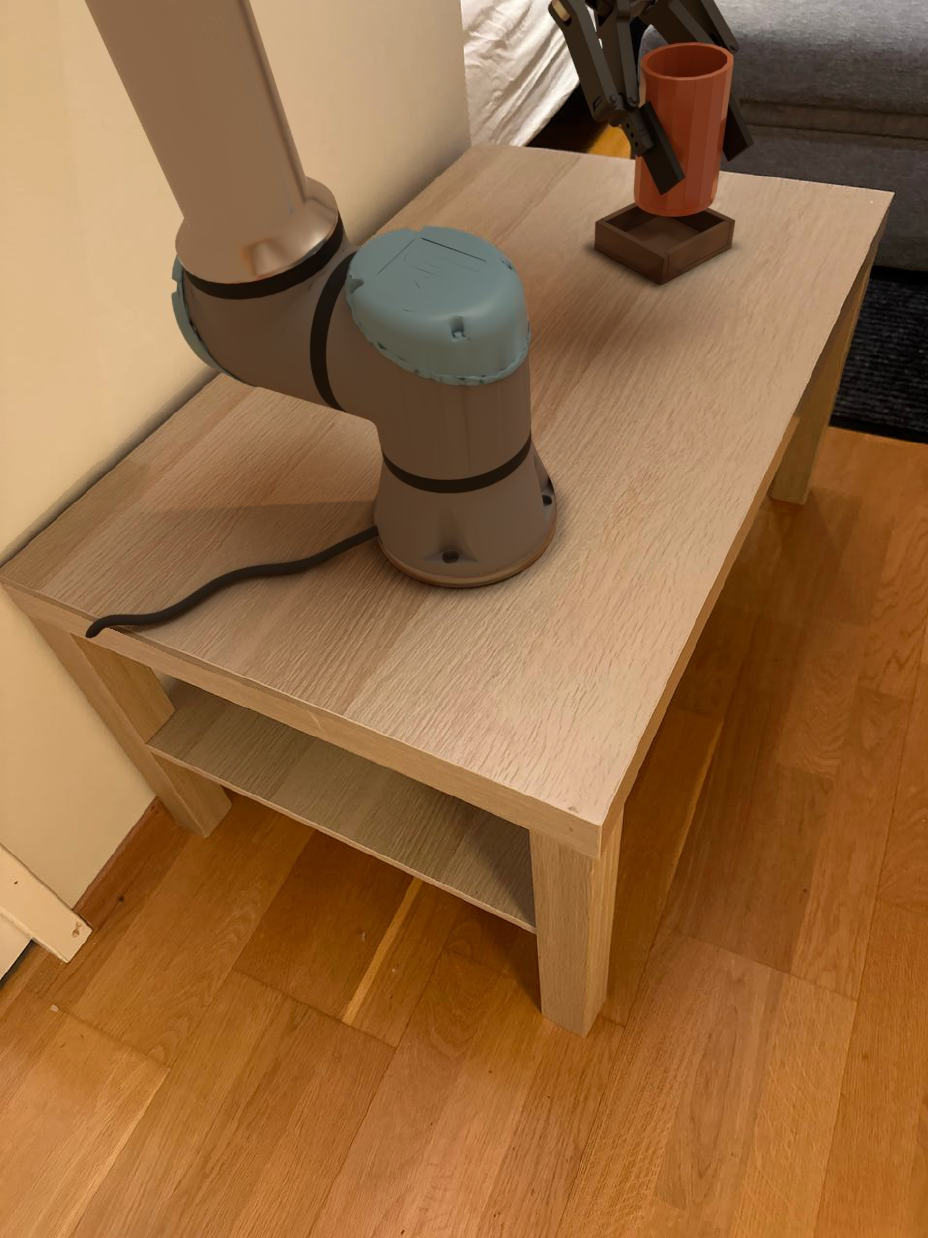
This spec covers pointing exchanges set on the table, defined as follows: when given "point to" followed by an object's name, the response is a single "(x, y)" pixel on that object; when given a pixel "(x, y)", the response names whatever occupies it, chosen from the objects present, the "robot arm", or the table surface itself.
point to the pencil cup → (686, 122)
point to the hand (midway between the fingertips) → (707, 168)
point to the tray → (663, 240)
